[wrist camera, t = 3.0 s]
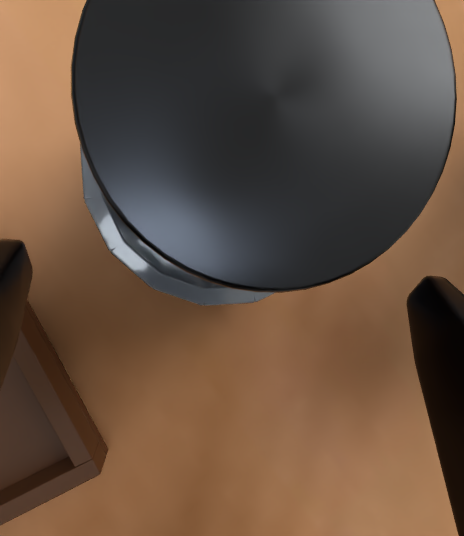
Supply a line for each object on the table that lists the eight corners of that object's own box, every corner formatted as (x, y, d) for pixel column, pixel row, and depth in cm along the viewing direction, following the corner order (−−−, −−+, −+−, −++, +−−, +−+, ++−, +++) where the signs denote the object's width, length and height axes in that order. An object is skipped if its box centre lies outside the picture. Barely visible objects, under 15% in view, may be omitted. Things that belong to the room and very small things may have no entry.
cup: (331, 236, 20) (391, 237, 14) (163, 317, 19) (158, 350, 13) (257, 58, 18) (292, -17, 13) (73, 135, 17) (28, 89, 12)
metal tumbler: (298, 222, 19) (508, 198, 7) (177, 279, 18) (181, 359, 6) (244, 95, 18) (378, -178, 6) (115, 150, 17) (-12, -35, 6)
